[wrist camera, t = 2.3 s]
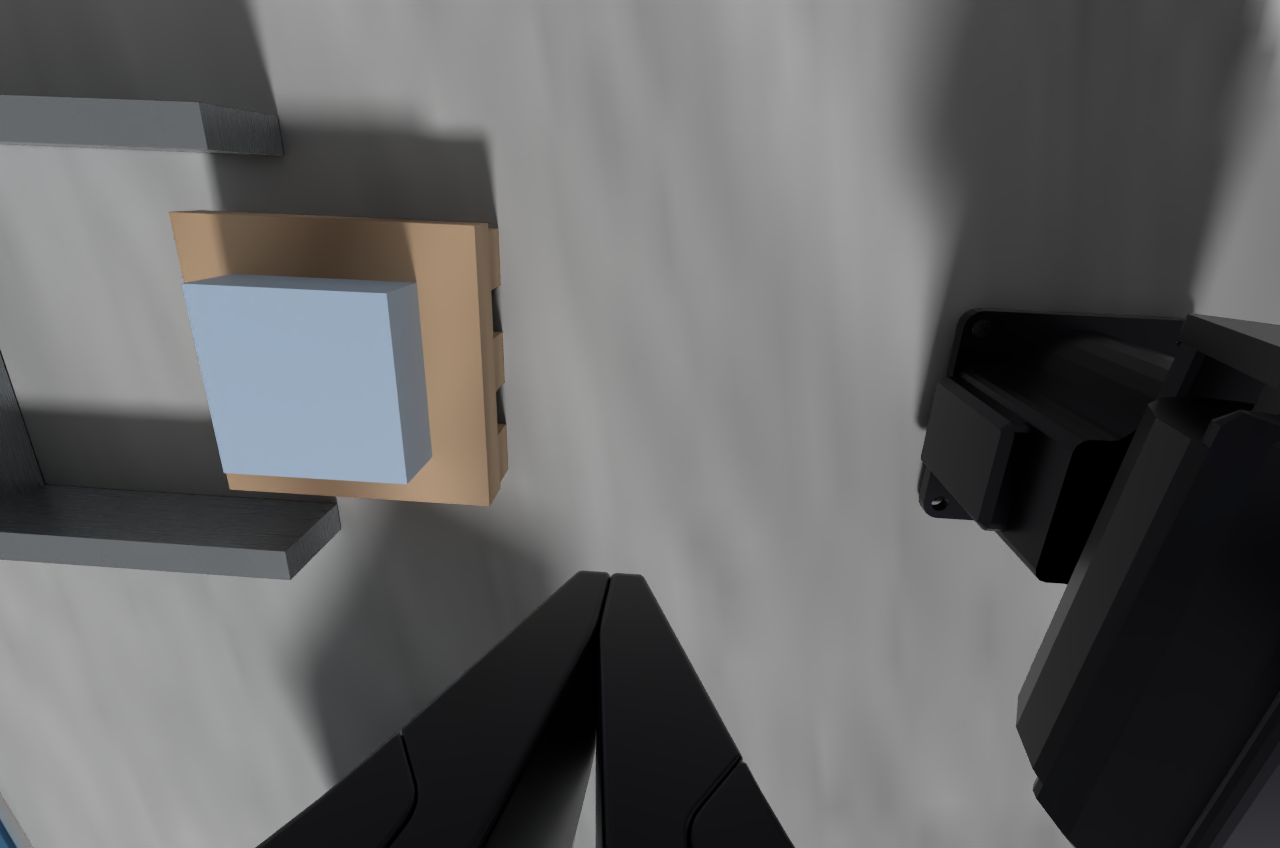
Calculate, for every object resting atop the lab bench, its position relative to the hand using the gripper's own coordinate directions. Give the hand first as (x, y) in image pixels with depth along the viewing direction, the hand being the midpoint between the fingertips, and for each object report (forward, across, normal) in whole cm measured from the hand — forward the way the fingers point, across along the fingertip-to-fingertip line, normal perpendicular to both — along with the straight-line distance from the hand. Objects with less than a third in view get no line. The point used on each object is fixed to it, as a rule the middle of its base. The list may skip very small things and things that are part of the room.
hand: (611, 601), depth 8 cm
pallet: (+12, +9, 0) cm, 15 cm away
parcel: (+9, +9, 0) cm, 13 cm away
